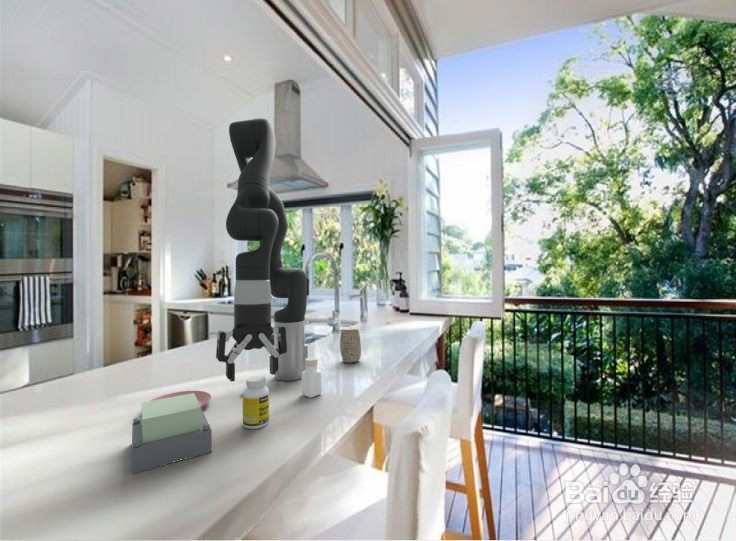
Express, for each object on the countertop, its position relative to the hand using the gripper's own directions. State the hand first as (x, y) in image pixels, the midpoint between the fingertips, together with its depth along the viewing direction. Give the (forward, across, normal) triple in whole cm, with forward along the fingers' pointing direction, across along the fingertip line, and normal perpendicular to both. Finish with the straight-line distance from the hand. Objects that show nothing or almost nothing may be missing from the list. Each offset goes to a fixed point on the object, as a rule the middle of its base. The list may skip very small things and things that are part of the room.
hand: (252, 377), depth 74 cm
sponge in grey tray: (+10, +15, +1) cm, 18 cm away
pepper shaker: (+10, -18, -9) cm, 22 cm away
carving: (+10, -42, -32) cm, 54 cm away
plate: (+11, +12, -19) cm, 25 cm away
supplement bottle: (+10, -1, 0) cm, 10 cm away
